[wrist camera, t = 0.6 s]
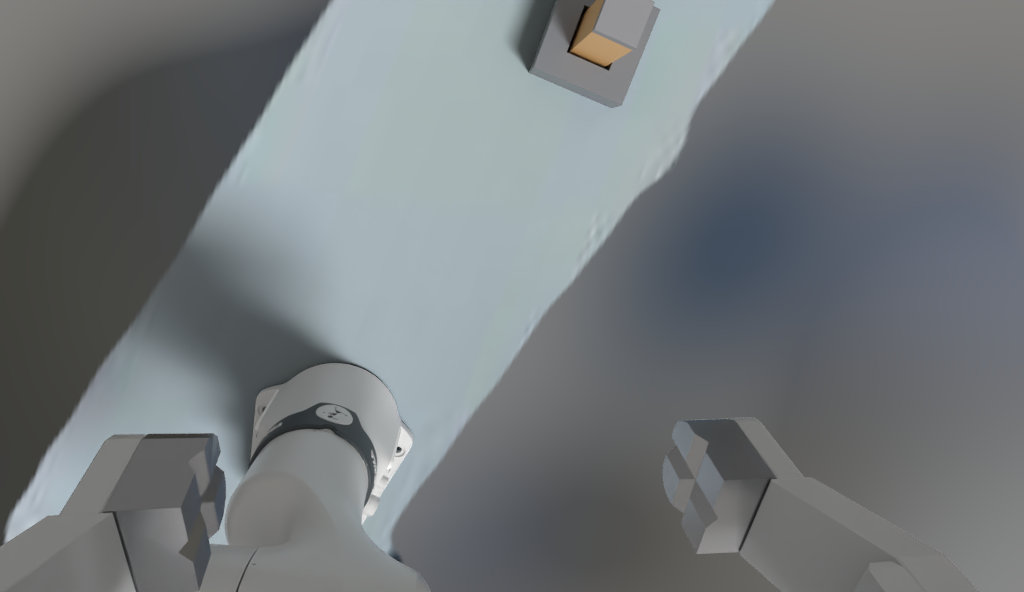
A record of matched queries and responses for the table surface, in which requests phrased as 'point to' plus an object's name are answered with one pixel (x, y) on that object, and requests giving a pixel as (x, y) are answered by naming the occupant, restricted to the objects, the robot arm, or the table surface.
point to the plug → (609, 30)
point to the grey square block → (580, 73)
